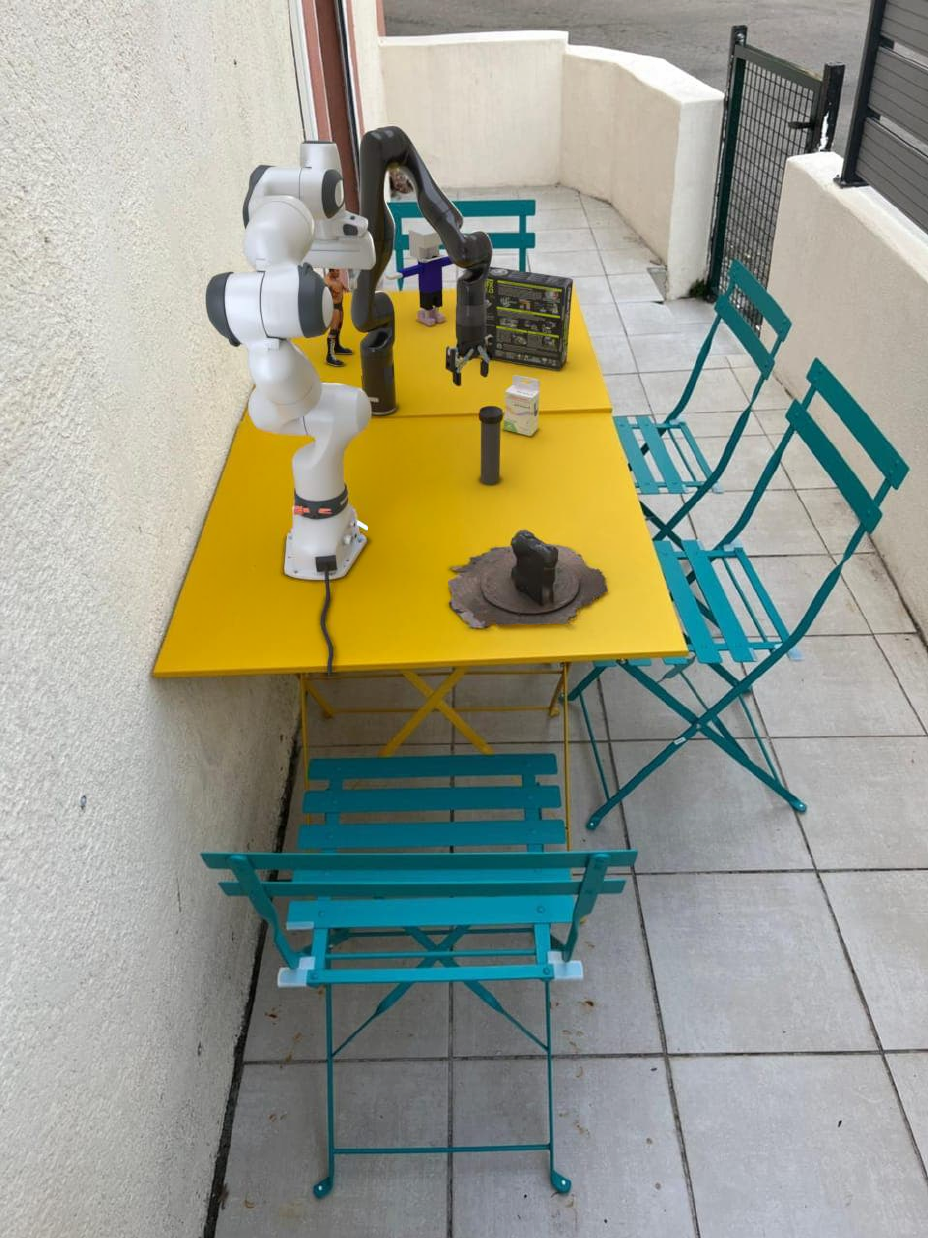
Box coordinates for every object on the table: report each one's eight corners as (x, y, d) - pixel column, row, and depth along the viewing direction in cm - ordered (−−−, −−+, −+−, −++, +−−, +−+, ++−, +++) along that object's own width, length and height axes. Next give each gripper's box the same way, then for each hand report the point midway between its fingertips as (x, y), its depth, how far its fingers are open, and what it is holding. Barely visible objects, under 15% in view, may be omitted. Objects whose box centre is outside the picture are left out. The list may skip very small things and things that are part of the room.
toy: (460, 304, 319) (459, 216, 299) (477, 312, 313) (477, 222, 294) (381, 329, 302) (375, 237, 283) (398, 337, 296) (393, 244, 277)
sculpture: (594, 649, 177) (601, 586, 167) (427, 621, 184) (424, 559, 174) (615, 555, 202) (623, 495, 191) (467, 533, 209) (467, 474, 198)
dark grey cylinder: (479, 475, 229) (480, 408, 217) (498, 474, 229) (500, 407, 217) (481, 485, 225) (481, 417, 213) (500, 484, 225) (501, 417, 213)
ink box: (503, 429, 247) (504, 380, 238) (510, 422, 250) (512, 373, 241) (531, 436, 244) (533, 386, 234) (538, 429, 247) (541, 379, 238)
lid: (478, 413, 218) (478, 406, 217) (501, 412, 218) (501, 405, 217) (479, 424, 214) (479, 417, 212) (503, 423, 214) (503, 416, 213)
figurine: (337, 375, 275) (327, 277, 255) (318, 373, 276) (306, 275, 256) (359, 343, 293) (351, 250, 273) (341, 342, 294) (332, 248, 274)
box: (567, 361, 281) (574, 276, 264) (561, 371, 276) (566, 284, 258) (470, 346, 291) (469, 262, 273) (461, 355, 285) (460, 270, 268)
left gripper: (275, 226, 189) (284, 291, 198) (369, 228, 187) (374, 293, 196) (282, 217, 194) (290, 281, 203) (374, 219, 192) (379, 283, 201)
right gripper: (484, 307, 223) (483, 368, 233) (438, 320, 216) (439, 382, 227) (503, 316, 218) (501, 378, 229) (456, 330, 212) (457, 393, 222)
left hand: (332, 287), depth 199 cm, fingers open, 8 cm apart
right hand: (470, 380), depth 228 cm, fingers open, 8 cm apart
